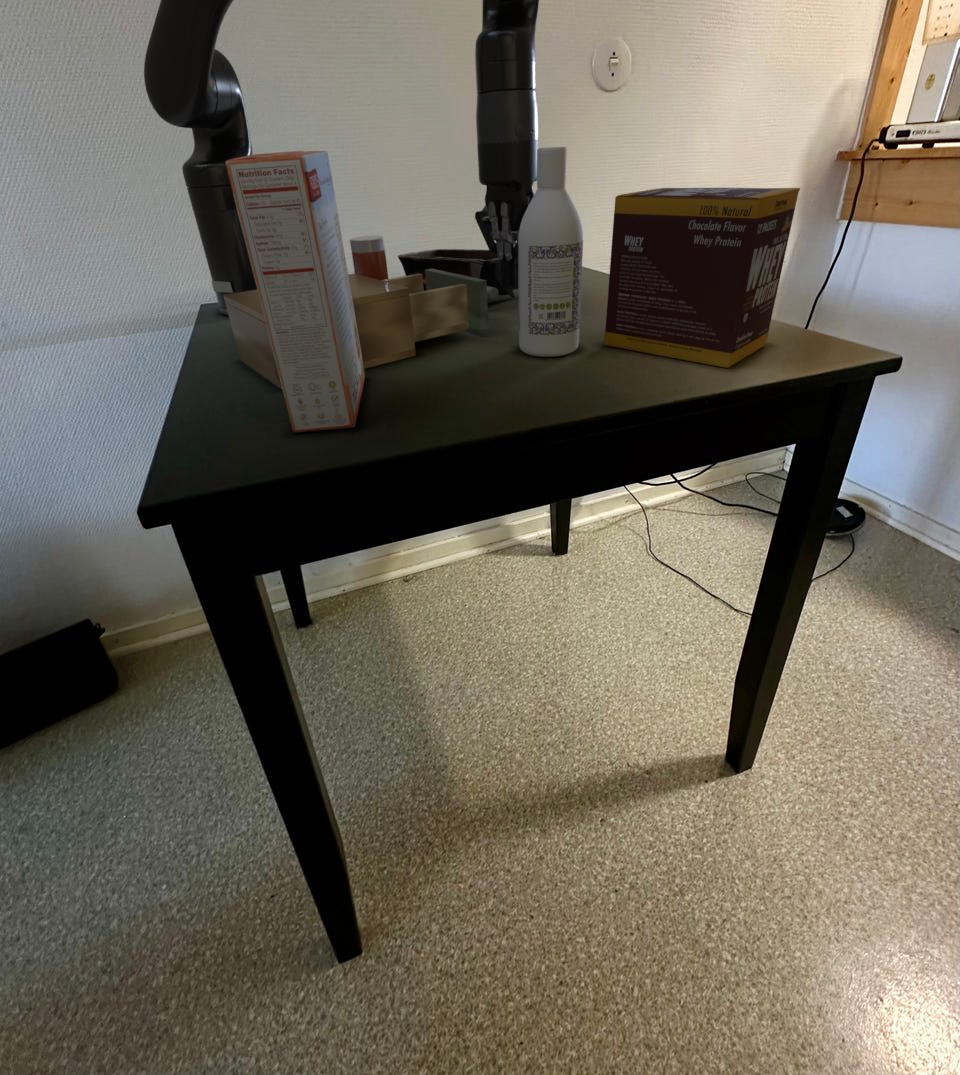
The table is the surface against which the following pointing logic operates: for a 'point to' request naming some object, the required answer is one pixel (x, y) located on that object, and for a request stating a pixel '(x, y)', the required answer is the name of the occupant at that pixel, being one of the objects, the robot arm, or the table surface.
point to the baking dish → (457, 265)
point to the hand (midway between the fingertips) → (512, 288)
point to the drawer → (446, 302)
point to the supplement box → (697, 270)
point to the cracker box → (302, 283)
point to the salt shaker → (369, 257)
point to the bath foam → (550, 263)
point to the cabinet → (377, 322)
